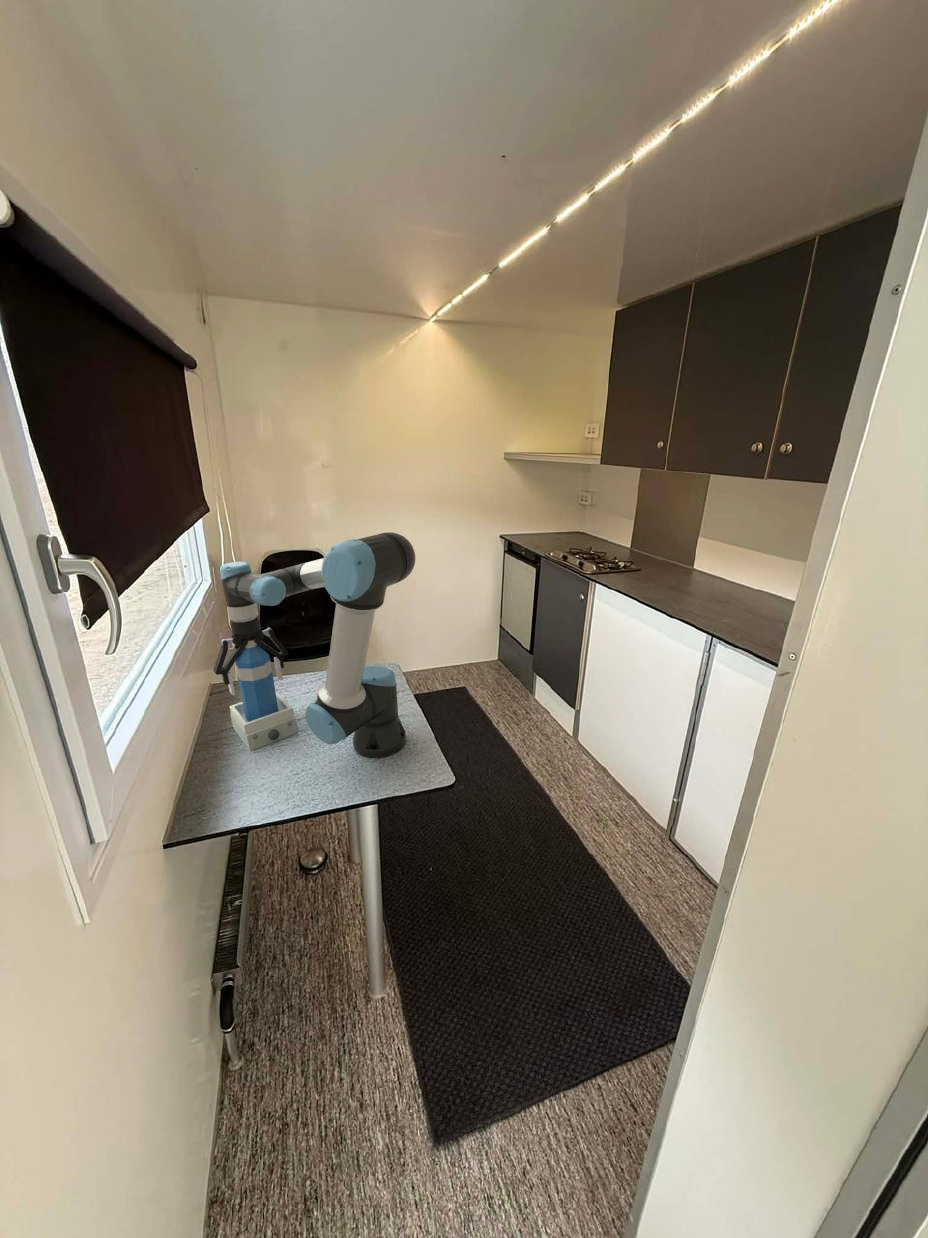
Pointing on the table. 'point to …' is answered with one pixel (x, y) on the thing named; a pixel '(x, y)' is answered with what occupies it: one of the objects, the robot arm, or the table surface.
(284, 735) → the open storage box
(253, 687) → the water bottle
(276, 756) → the table surface
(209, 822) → the table surface
